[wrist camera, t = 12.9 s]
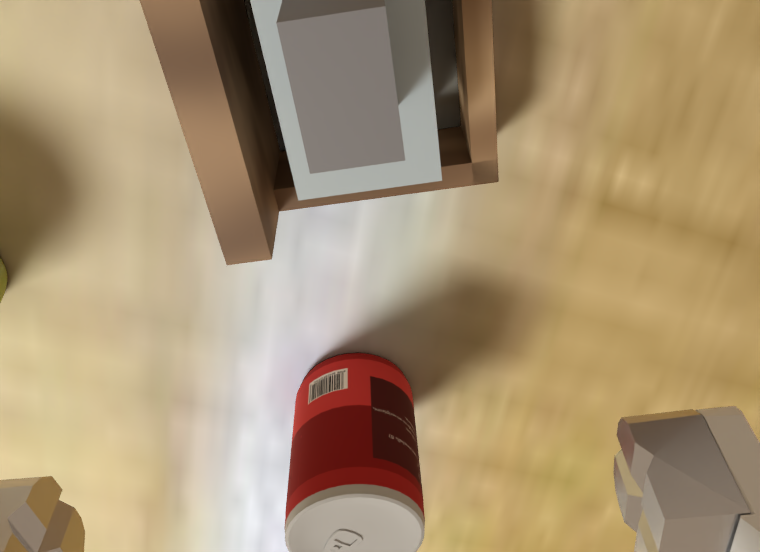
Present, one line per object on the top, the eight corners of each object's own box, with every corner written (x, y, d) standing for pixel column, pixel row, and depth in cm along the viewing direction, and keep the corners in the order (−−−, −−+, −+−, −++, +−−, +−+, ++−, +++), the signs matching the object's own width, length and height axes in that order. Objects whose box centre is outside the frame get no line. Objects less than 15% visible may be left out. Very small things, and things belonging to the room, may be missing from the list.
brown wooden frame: (485, 144, 37) (514, 227, 30) (248, 176, 37) (226, 265, 31) (463, -298, 26) (501, -315, 19) (130, -241, 27) (60, -239, 20)
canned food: (281, 417, 48) (266, 565, 40) (319, 335, 44) (311, 480, 35) (384, 441, 50) (391, 588, 42) (430, 365, 46) (449, 510, 37)
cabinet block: (398, -180, 28) (425, -142, 18) (427, 102, 35) (458, 241, 25) (248, -155, 28) (193, -104, 18) (307, 119, 36) (291, 263, 26)
